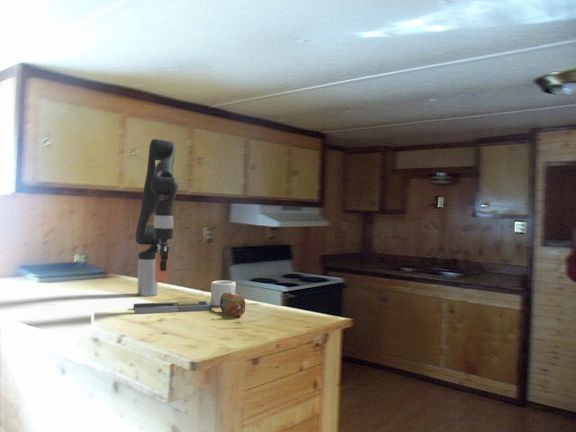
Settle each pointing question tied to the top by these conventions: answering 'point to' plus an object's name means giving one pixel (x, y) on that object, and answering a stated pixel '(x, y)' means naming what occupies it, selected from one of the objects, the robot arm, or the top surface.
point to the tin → (232, 304)
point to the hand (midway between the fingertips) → (162, 269)
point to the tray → (195, 307)
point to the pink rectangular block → (158, 273)
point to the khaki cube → (192, 302)
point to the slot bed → (155, 307)
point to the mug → (221, 290)
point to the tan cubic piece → (182, 302)
